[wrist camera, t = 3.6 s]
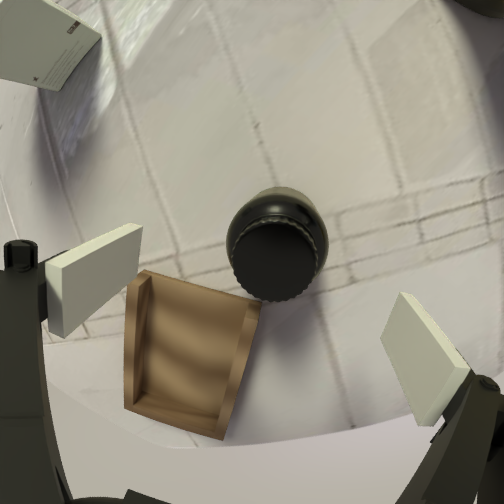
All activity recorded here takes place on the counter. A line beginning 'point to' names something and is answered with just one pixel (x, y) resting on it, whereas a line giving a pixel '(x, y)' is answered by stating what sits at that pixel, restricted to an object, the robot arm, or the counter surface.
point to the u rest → (185, 352)
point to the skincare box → (41, 42)
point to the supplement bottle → (277, 244)
